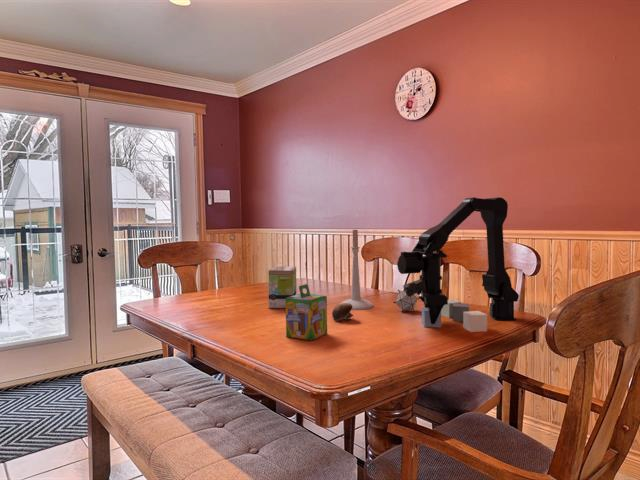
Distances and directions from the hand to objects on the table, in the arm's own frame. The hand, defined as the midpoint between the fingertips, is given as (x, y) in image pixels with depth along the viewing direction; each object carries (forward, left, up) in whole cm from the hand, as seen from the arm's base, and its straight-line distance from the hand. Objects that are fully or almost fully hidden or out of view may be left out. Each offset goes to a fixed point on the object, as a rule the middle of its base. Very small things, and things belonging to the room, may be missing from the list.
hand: (431, 321), depth 133 cm
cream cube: (-12, +5, -1) cm, 13 cm away
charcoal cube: (-11, -7, -1) cm, 13 cm away
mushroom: (+28, -7, -1) cm, 29 cm away
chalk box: (+38, +12, -1) cm, 40 cm away
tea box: (+52, -33, -1) cm, 62 cm away
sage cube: (-9, -13, -1) cm, 16 cm away
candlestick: (+23, -29, -1) cm, 37 cm away
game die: (+5, -20, -1) cm, 21 cm away
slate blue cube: (0, 0, -1) cm, 1 cm away
